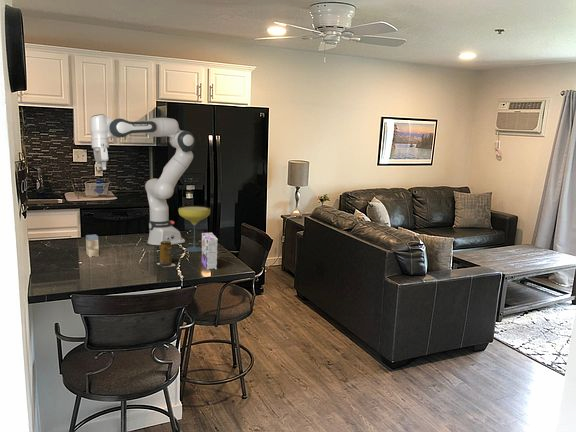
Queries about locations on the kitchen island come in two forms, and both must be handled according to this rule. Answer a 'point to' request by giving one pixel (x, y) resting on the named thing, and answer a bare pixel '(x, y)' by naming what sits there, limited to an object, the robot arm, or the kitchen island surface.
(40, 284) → the kitchen island surface
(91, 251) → the flip block
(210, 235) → the candy box
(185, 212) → the cocktail glass
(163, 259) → the condiment
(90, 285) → the kitchen island surface
